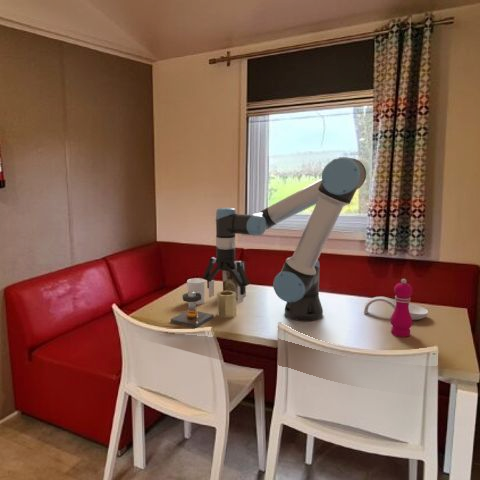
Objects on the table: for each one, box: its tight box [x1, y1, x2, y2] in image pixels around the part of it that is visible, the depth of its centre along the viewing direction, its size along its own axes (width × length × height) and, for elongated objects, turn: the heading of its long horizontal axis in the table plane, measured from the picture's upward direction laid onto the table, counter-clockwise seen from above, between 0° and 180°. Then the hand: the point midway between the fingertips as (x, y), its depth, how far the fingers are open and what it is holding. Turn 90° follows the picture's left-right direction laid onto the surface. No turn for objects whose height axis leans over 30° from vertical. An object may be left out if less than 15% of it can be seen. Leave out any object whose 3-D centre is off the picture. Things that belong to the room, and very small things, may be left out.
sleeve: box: [216, 290, 237, 319], centre depth 161 cm, size 7×7×9 cm
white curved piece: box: [363, 296, 429, 321], centre depth 159 cm, size 24×12×7 cm, turn 72°
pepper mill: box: [389, 278, 414, 338], centre depth 140 cm, size 7×7×20 cm
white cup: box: [186, 277, 206, 306], centre depth 177 cm, size 8×8×10 cm
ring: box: [182, 292, 201, 303], centre depth 155 cm, size 7×7×2 cm
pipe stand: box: [170, 291, 215, 329], centre depth 156 cm, size 12×12×11 cm
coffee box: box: [222, 261, 247, 299], centre depth 185 cm, size 9×6×16 cm
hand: (225, 299), depth 161 cm, fingers open, 13 cm apart
